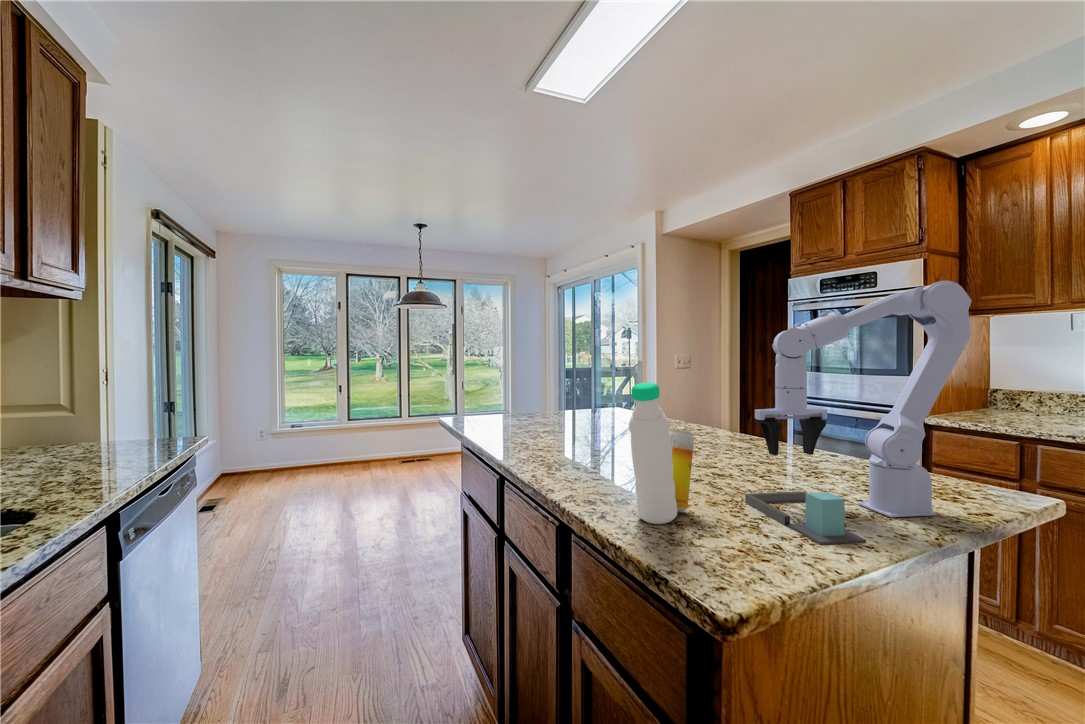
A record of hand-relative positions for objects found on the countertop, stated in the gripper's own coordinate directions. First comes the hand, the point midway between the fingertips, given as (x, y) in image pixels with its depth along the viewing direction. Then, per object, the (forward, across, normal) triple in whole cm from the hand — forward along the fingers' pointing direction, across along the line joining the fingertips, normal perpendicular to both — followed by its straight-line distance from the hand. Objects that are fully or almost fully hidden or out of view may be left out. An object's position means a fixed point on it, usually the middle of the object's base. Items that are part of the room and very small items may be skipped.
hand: (790, 454), depth 94 cm
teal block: (+10, +5, +16) cm, 20 cm away
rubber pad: (+10, +5, +16) cm, 20 cm away
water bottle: (+9, +30, +6) cm, 33 cm away
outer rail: (+10, +3, +5) cm, 12 cm away
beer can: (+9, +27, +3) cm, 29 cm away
